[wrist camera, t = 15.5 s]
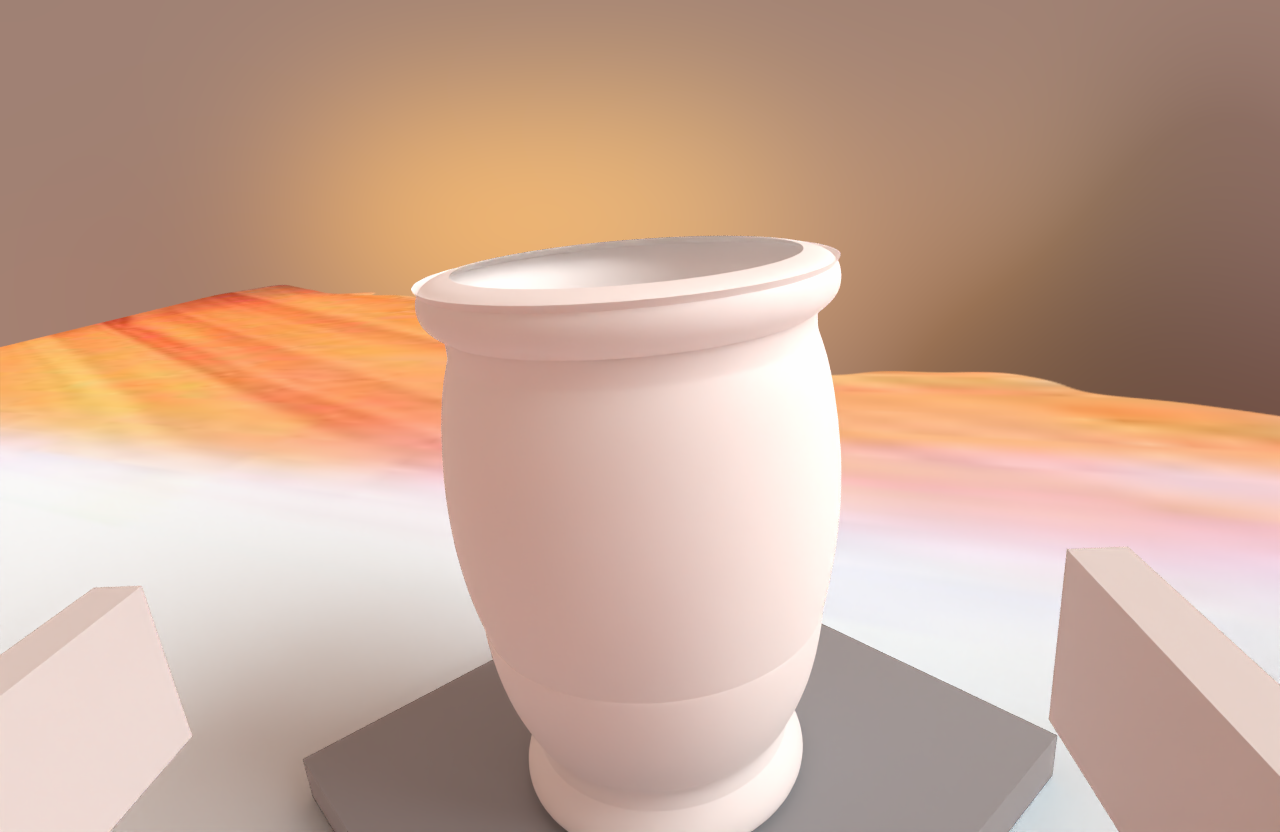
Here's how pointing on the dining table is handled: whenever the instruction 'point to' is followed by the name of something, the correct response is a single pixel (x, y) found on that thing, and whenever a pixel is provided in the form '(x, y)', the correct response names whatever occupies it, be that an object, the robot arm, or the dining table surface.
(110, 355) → the dining table surface
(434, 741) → the slate board
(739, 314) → the jar
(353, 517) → the dining table surface
